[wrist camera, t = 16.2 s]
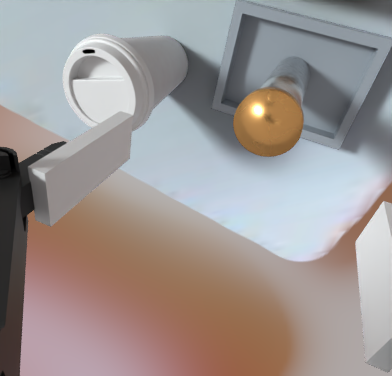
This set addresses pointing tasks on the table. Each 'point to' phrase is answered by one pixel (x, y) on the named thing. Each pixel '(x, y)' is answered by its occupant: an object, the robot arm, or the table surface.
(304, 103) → the tray
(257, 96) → the hitch pin
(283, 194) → the table surface
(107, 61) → the coffee cup
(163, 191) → the table surface
